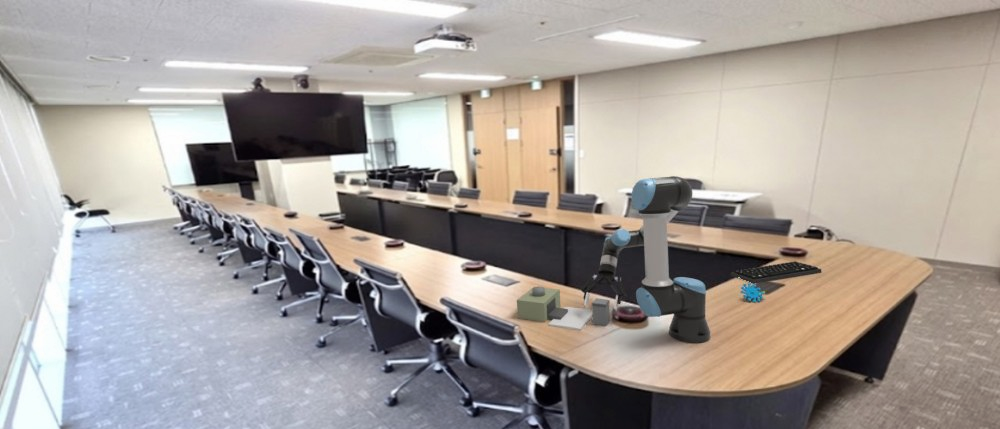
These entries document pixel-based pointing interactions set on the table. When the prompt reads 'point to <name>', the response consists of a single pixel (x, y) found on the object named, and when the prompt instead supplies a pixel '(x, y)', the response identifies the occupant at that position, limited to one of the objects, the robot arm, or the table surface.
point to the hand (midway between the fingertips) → (600, 308)
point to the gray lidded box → (601, 312)
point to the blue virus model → (752, 292)
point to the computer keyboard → (775, 272)
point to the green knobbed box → (551, 309)
